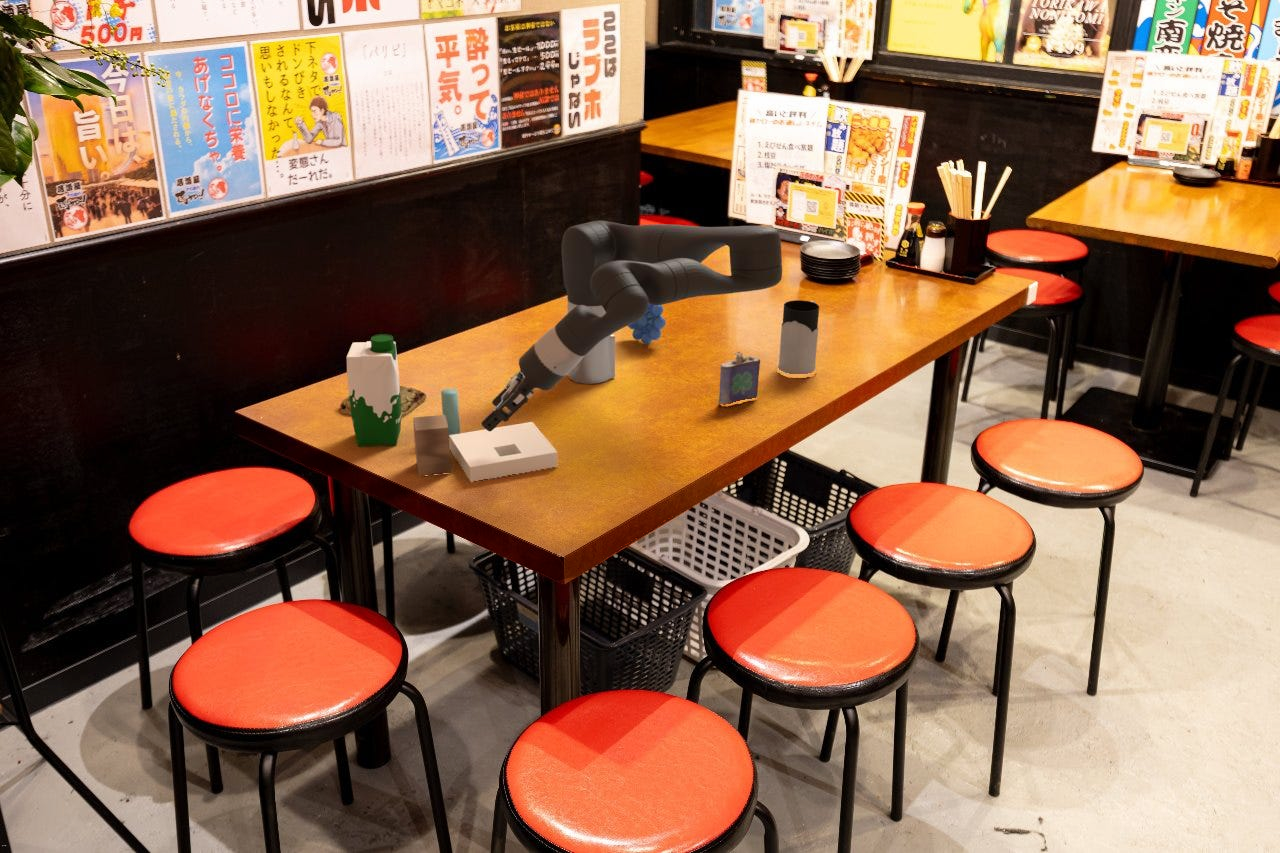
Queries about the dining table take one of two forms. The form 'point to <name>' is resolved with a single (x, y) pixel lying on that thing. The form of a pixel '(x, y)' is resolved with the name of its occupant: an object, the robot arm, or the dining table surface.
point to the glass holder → (799, 337)
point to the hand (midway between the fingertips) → (491, 416)
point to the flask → (739, 379)
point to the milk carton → (374, 391)
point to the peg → (451, 410)
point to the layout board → (502, 451)
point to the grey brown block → (432, 445)
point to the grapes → (649, 324)
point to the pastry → (408, 401)
